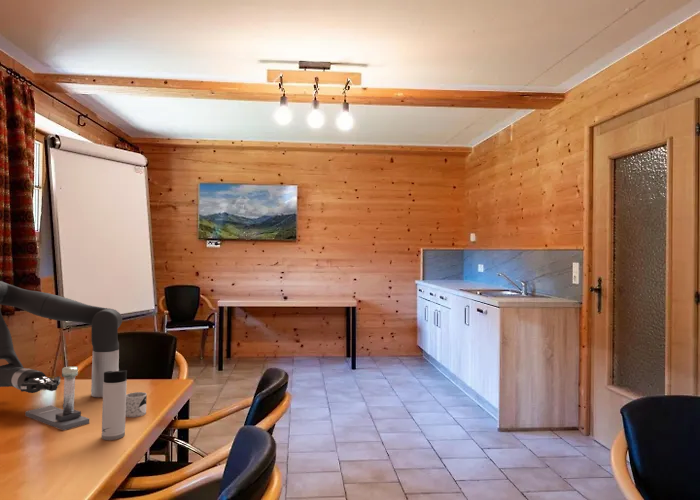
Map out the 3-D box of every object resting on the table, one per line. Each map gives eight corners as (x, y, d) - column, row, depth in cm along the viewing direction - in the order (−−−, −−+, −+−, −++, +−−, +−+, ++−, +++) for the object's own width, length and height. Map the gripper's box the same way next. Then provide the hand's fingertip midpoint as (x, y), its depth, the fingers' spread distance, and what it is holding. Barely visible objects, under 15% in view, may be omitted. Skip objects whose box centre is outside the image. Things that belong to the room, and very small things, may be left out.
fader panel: (25, 415, 156) (25, 411, 156) (50, 409, 163) (50, 405, 163) (63, 430, 144) (63, 425, 144) (89, 423, 151) (89, 418, 151)
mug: (143, 416, 158) (144, 397, 158) (122, 417, 157) (123, 397, 157) (149, 407, 168) (150, 389, 168) (130, 408, 166) (130, 389, 167)
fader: (54, 419, 149) (56, 368, 149) (74, 414, 154) (75, 365, 154) (62, 421, 146) (64, 370, 147) (81, 416, 151) (83, 367, 152)
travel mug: (101, 442, 135) (103, 372, 136) (101, 434, 141) (103, 368, 142) (125, 438, 138) (127, 371, 139) (124, 431, 144) (126, 366, 145)
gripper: (7, 373, 159) (33, 380, 150) (49, 366, 170) (75, 372, 161) (6, 395, 158) (32, 403, 149) (48, 386, 170) (74, 394, 161)
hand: (54, 387), depth 155 cm, fingers closed
